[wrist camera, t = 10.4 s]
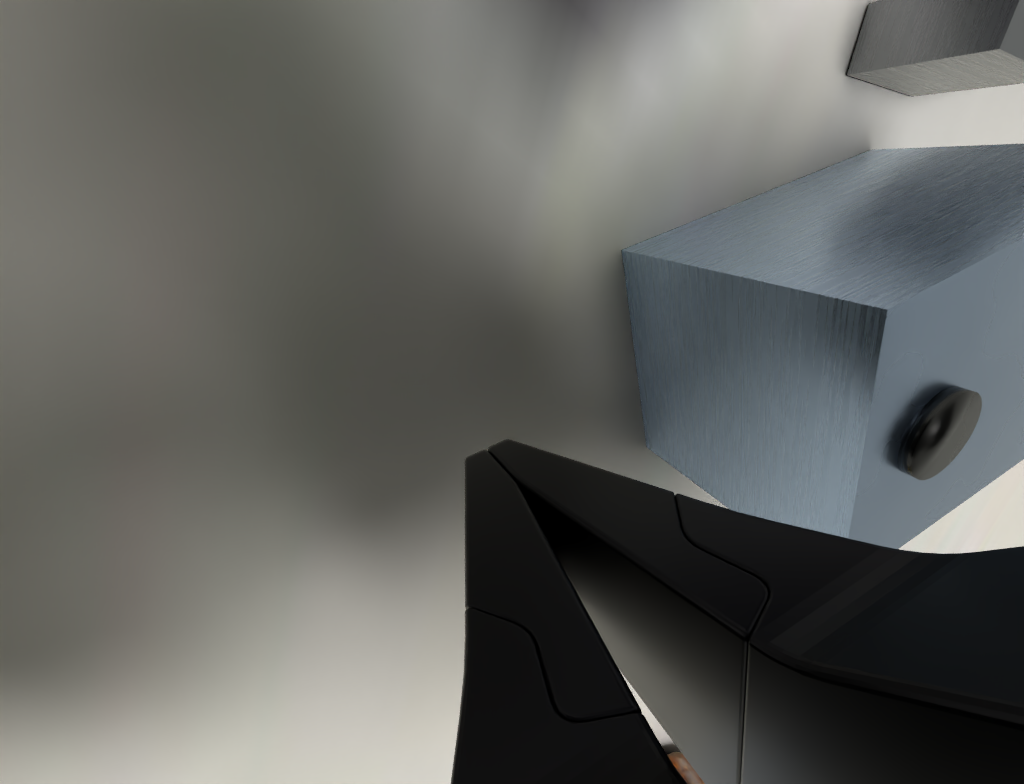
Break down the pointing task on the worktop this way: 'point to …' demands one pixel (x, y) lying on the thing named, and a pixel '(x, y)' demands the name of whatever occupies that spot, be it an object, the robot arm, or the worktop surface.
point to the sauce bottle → (684, 768)
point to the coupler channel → (940, 45)
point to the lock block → (842, 341)
